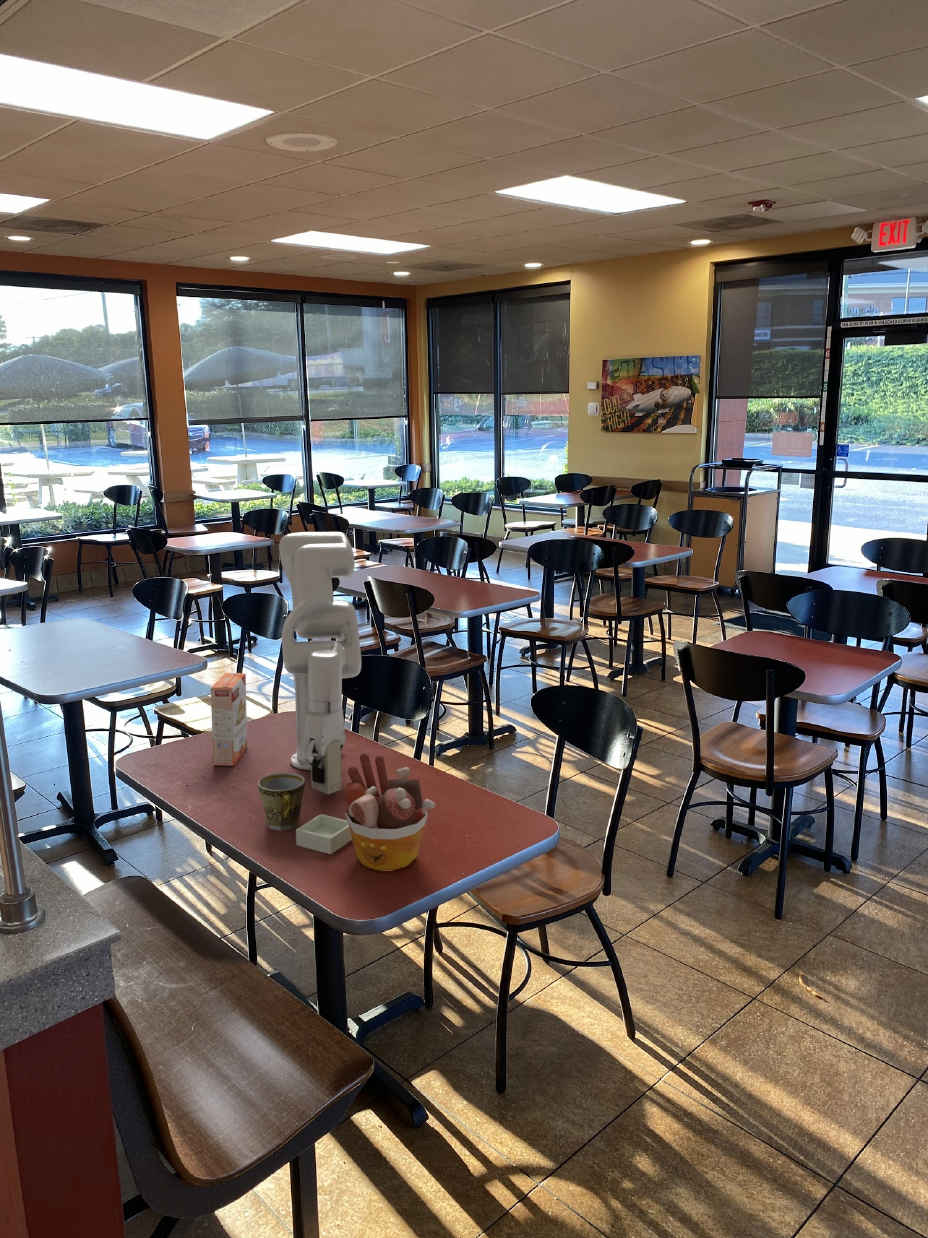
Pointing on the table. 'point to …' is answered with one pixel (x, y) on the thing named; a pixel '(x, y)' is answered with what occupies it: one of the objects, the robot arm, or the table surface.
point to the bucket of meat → (385, 816)
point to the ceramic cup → (282, 799)
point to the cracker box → (229, 719)
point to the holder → (324, 834)
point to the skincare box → (330, 769)
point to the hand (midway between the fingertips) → (326, 776)
